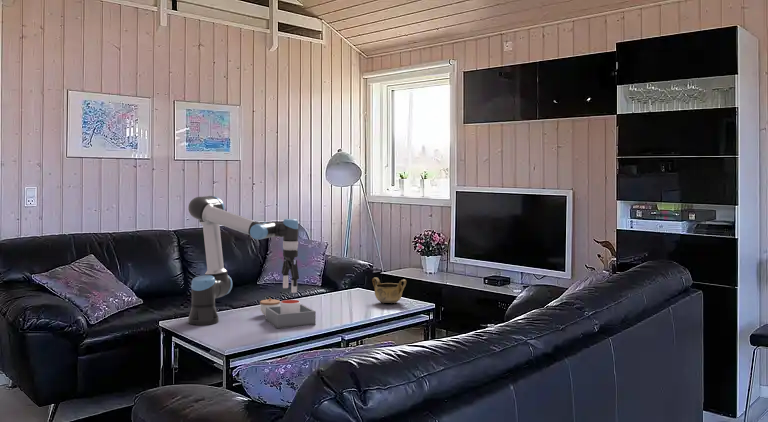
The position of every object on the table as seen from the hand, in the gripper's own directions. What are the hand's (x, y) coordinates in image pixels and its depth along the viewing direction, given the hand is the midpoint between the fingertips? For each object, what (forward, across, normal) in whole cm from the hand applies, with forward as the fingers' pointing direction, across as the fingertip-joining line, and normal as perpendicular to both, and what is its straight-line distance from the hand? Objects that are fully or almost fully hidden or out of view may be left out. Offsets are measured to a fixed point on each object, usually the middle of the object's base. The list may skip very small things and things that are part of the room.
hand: (289, 290), depth 337 cm
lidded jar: (+17, +22, +4) cm, 28 cm away
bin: (+17, 0, 0) cm, 17 cm away
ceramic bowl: (+16, +25, -70) cm, 76 cm away
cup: (+16, 0, 0) cm, 16 cm away
